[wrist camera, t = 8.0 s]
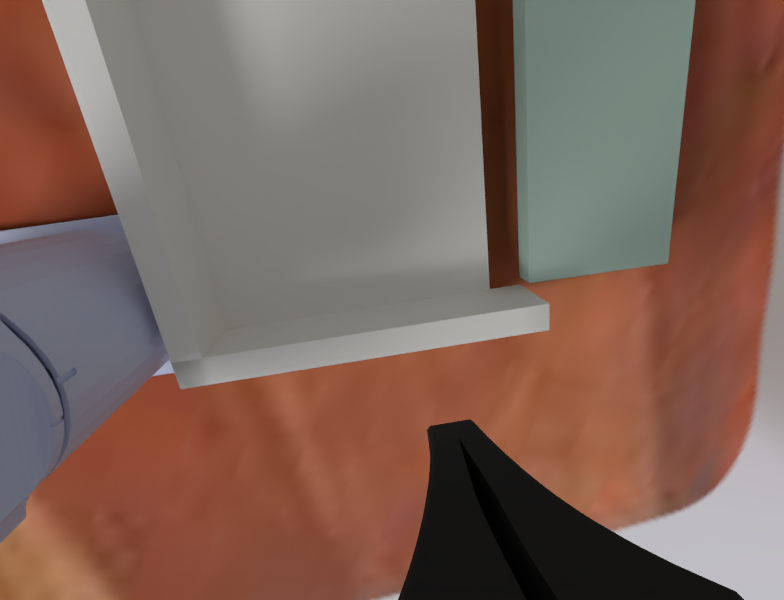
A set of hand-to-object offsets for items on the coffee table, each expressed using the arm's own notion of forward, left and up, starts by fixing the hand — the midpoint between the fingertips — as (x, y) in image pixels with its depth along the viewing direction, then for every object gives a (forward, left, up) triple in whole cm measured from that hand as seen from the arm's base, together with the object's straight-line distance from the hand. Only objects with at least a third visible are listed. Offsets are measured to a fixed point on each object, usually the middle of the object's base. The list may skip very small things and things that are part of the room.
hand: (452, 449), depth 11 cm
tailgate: (+6, +11, -8) cm, 15 cm away
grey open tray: (-3, +11, -9) cm, 15 cm away
